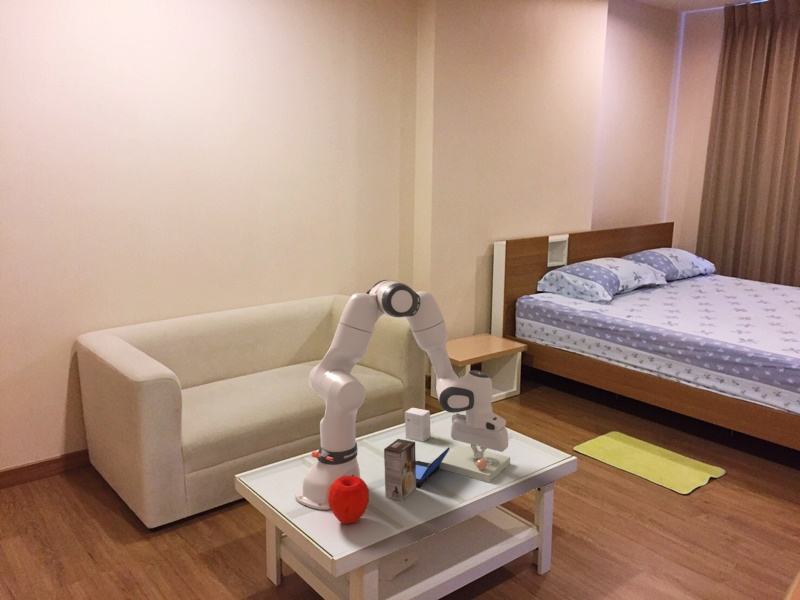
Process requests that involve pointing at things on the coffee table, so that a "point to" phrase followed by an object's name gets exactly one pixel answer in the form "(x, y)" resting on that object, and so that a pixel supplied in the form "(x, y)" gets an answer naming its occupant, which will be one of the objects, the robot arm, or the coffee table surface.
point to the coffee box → (400, 469)
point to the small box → (417, 424)
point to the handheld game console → (428, 469)
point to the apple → (348, 498)
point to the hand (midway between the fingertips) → (478, 457)
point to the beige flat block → (473, 463)
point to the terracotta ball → (481, 464)
